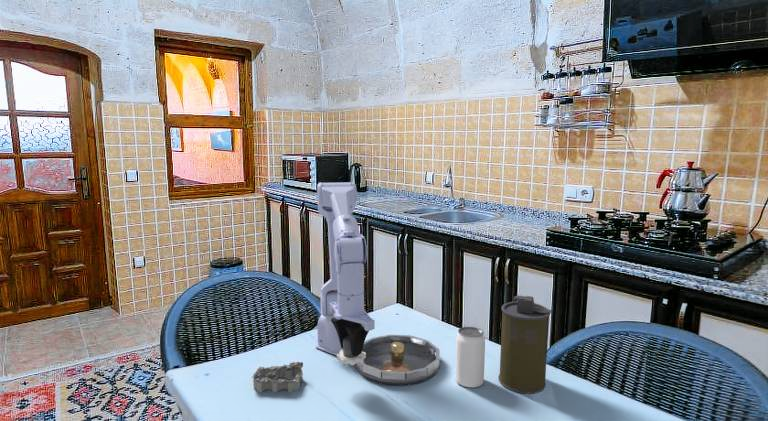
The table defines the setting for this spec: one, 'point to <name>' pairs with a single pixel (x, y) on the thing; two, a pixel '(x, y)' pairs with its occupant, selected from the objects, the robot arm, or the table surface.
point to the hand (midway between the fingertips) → (351, 350)
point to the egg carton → (277, 372)
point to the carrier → (399, 360)
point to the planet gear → (349, 354)
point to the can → (470, 357)
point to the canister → (524, 345)
